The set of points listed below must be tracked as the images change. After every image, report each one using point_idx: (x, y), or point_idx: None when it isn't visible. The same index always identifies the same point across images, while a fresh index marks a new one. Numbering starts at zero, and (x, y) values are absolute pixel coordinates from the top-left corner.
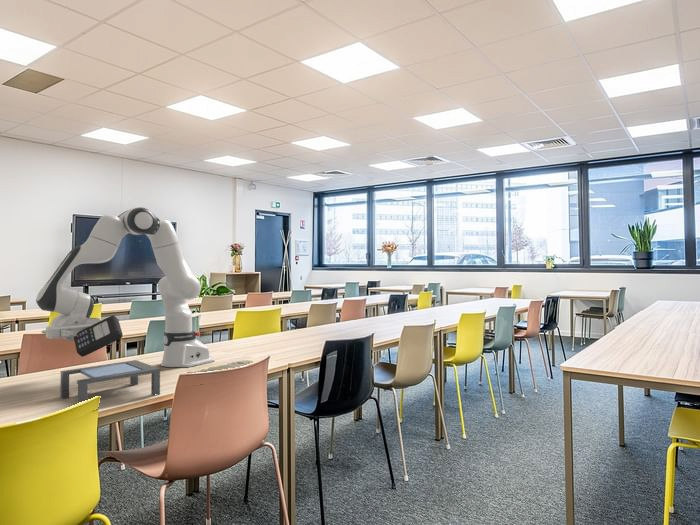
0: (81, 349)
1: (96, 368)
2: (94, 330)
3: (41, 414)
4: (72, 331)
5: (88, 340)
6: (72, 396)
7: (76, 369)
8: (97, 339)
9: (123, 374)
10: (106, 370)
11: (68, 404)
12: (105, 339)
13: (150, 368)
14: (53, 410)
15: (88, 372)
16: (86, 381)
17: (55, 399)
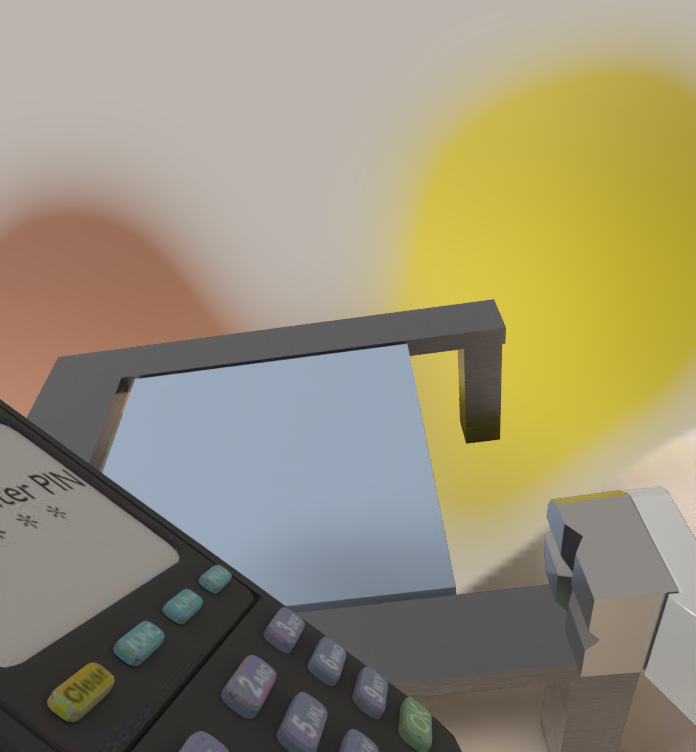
0: (401, 698)
1: (323, 566)
2: (48, 625)
3: (665, 448)
4: (561, 501)
5: (266, 643)
6: (516, 730)
7: (488, 635)
8: (169, 531)
9: (264, 333)
10: (291, 460)
11: (543, 540)
12: (101, 474)
13: (80, 382)
14: (615, 478)
15: (414, 466)
16: (461, 306)
17: (640, 723)
